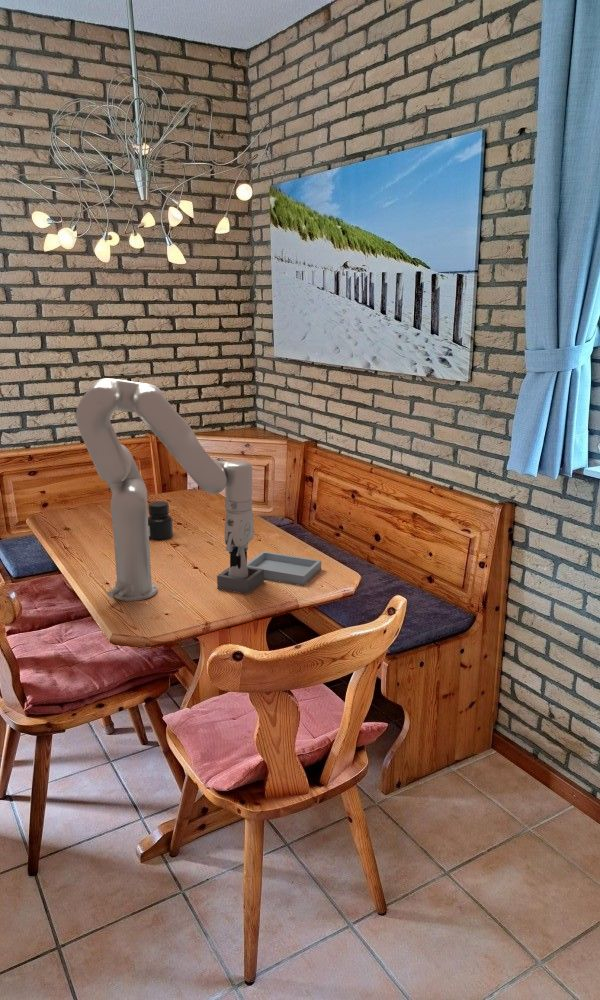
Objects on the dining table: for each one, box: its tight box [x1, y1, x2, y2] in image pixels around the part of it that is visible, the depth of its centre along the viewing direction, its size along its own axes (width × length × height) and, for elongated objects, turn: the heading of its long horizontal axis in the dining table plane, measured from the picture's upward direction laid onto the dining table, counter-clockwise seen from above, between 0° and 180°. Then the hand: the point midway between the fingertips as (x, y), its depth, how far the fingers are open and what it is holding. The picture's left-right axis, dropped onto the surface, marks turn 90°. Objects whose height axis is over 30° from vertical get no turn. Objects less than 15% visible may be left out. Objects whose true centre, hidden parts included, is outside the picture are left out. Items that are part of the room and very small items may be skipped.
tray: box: [247, 550, 322, 587], centre depth 217 cm, size 14×20×3 cm
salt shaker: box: [228, 543, 248, 579], centre depth 205 cm, size 6×6×13 cm
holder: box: [216, 566, 265, 595], centre depth 207 cm, size 10×10×4 cm
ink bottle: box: [148, 500, 174, 541], centre depth 247 cm, size 10×9×12 cm
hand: (238, 565), depth 205 cm, fingers closed on salt shaker, 3 cm apart
